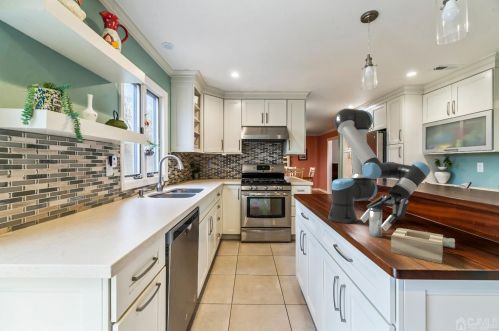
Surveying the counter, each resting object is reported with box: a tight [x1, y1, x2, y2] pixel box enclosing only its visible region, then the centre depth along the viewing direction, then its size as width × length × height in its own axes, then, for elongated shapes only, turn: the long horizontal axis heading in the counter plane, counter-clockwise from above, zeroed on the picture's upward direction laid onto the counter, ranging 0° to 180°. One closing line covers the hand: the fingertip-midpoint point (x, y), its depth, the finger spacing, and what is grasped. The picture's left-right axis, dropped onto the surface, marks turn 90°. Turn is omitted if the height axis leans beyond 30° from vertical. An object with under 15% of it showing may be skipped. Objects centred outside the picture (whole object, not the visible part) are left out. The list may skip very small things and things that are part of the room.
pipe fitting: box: [443, 236, 456, 250], centre depth 90 cm, size 8×4×7 cm
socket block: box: [390, 227, 444, 264], centre depth 83 cm, size 14×14×6 cm
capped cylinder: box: [368, 208, 383, 238], centre depth 102 cm, size 5×5×12 cm
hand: (372, 224), depth 101 cm, fingers open, 13 cm apart
